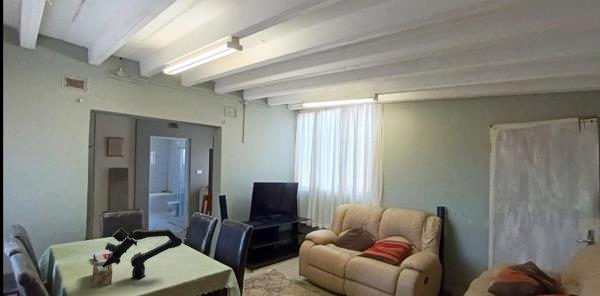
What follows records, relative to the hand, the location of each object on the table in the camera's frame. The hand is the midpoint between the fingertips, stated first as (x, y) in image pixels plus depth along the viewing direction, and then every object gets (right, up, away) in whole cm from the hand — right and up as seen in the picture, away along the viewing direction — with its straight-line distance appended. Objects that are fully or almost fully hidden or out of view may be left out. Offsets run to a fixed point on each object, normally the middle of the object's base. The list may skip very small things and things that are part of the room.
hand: (102, 266), depth 199 cm
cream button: (0, -3, 0) cm, 3 cm away
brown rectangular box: (-3, -10, +5) cm, 11 cm away
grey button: (-6, -3, +9) cm, 11 cm away
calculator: (-23, -10, +38) cm, 46 cm away
